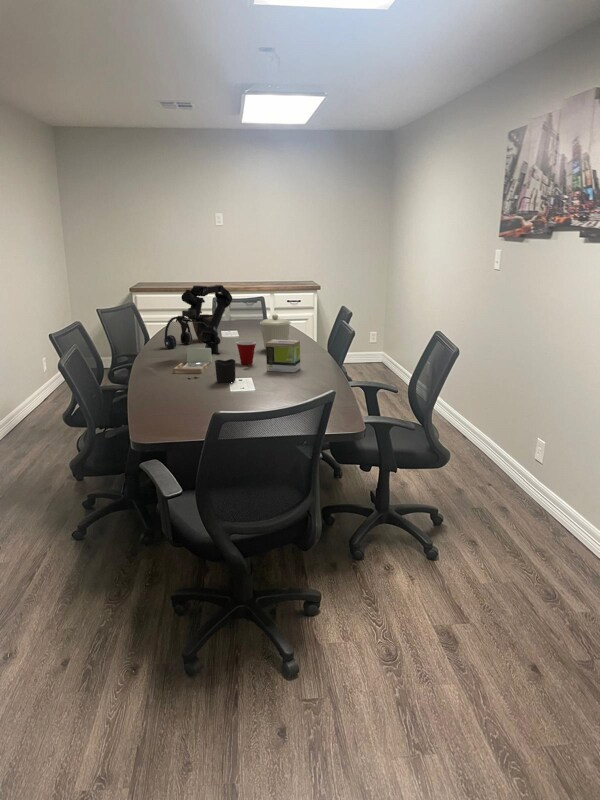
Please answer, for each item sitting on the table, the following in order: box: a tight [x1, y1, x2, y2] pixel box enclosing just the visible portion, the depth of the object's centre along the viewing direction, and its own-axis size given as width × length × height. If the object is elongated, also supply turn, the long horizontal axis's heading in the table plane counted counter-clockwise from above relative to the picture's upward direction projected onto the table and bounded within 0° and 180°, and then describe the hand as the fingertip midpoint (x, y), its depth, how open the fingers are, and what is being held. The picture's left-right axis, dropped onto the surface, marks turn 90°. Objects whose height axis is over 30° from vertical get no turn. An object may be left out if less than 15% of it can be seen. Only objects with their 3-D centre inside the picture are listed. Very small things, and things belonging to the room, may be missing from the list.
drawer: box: [181, 347, 213, 369], centre depth 284 cm, size 14×13×9 cm
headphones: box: [163, 316, 193, 349], centre depth 336 cm, size 20×7×18 cm, turn 148°
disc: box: [188, 361, 204, 367], centre depth 284 cm, size 8×8×2 cm
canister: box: [259, 314, 292, 350], centre depth 322 cm, size 18×18×21 cm
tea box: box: [265, 339, 301, 373], centre depth 277 cm, size 15×10×15 cm
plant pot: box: [191, 313, 213, 343], centre depth 352 cm, size 15×15×16 cm
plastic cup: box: [235, 340, 257, 366], centre depth 290 cm, size 11×11×12 cm
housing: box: [172, 362, 209, 374], centre depth 276 cm, size 14×14×3 cm
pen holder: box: [214, 358, 236, 384], centre depth 257 cm, size 9×9×10 cm
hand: (190, 335), depth 295 cm, fingers open, 9 cm apart
